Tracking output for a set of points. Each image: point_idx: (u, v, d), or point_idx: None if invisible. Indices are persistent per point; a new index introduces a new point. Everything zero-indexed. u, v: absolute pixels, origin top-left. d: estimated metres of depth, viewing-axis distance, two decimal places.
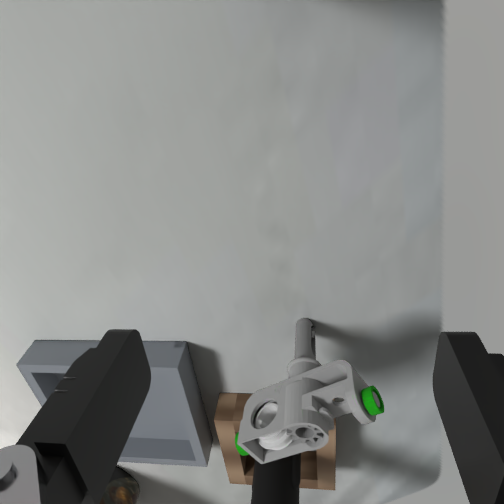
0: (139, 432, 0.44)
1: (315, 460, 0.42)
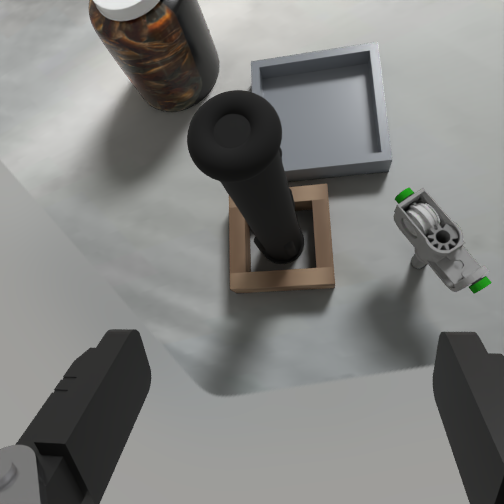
0: None
1: None
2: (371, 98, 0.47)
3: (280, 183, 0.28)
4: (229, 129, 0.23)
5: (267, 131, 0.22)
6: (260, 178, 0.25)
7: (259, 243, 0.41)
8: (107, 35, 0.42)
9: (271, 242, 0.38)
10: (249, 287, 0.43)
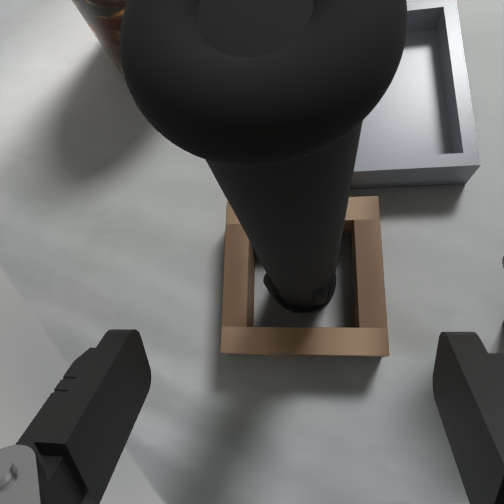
0: None
1: (251, 327, 0.29)
2: (441, 77, 0.33)
3: (348, 184, 0.12)
4: (246, 4, 0.07)
5: (374, 2, 0.07)
6: (317, 166, 0.09)
7: (272, 285, 0.25)
8: None
9: (294, 288, 0.22)
10: (251, 351, 0.27)
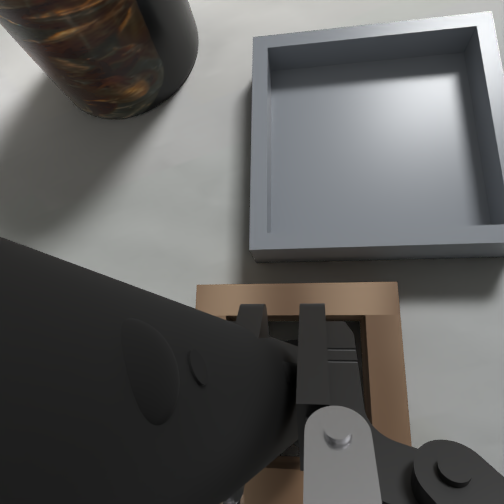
0: (285, 148, 0.27)
1: None
2: (473, 115, 0.26)
3: None
4: None
5: None
6: None
7: None
8: None
9: None
10: None
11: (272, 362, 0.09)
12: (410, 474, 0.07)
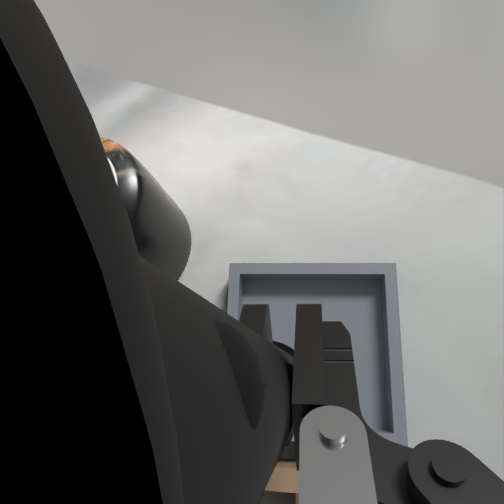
0: None
1: None
2: (382, 332, 0.36)
3: None
4: None
5: None
6: None
7: None
8: None
9: None
10: None
11: (282, 363, 0.09)
12: (405, 474, 0.07)
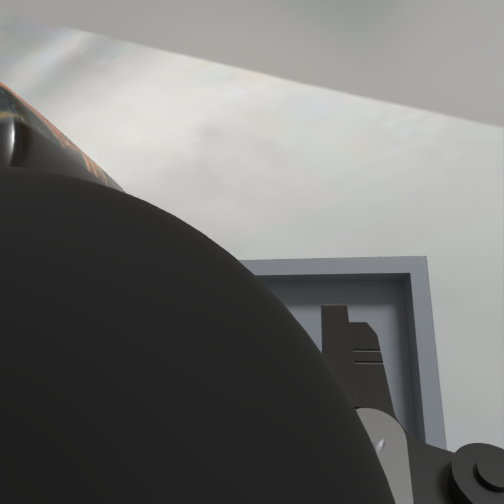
0: None
1: None
2: (408, 359, 0.24)
3: None
4: None
5: None
6: None
7: None
8: None
9: None
10: None
11: None
12: (446, 478, 0.07)
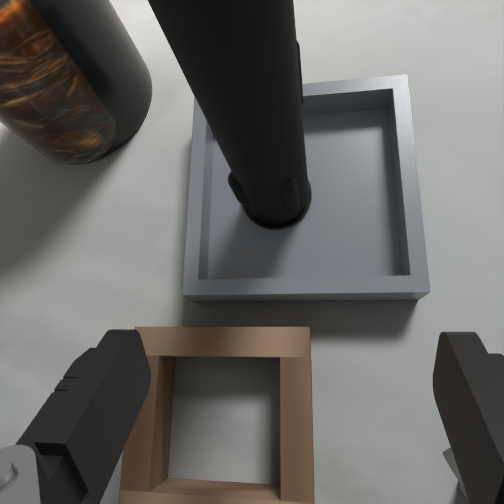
0: (224, 196, 0.30)
1: (161, 479, 0.25)
2: (391, 168, 0.28)
3: None
4: None
5: None
6: None
7: (236, 184, 0.23)
8: None
9: (257, 174, 0.20)
10: None
11: None
12: None
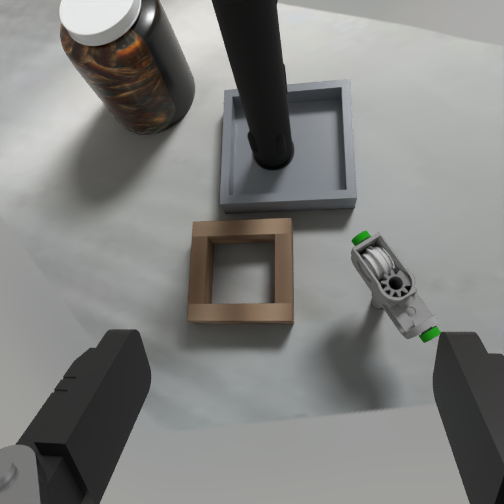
0: (242, 151, 0.49)
1: None
2: (341, 134, 0.48)
3: (275, 33, 0.30)
4: None
5: None
6: (257, 10, 0.27)
7: (252, 137, 0.43)
8: (76, 58, 0.42)
9: (264, 129, 0.40)
10: (206, 319, 0.42)
11: None
12: None
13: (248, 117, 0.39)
